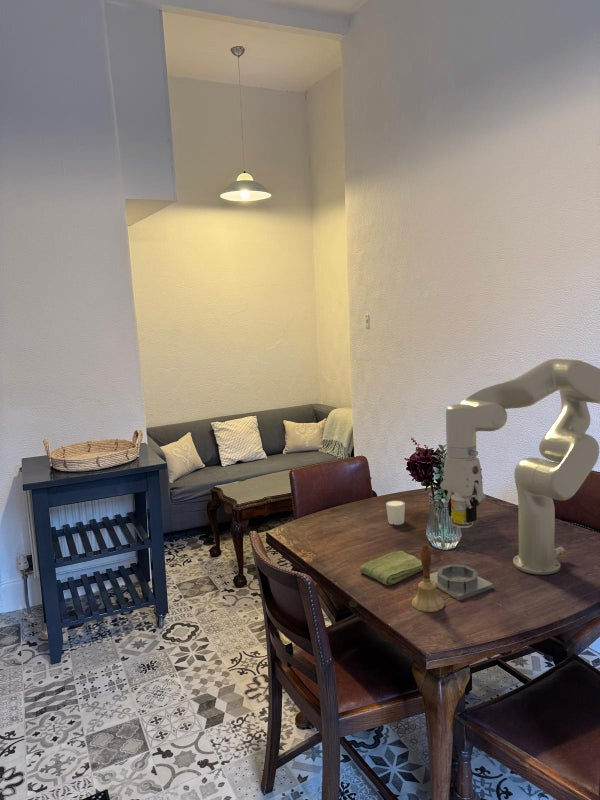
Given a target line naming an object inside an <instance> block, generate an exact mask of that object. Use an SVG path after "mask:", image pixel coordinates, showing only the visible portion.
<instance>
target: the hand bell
mask: <svg viewBox="0 0 600 800" xmlns="http://www.w3.org/2000/svg"><path fill="white" fill-rule="evenodd" d="M428 545H429V544H427V543H423V544H422V546H421V547H422V548H421V549H420V560H421V563H422V566H423V570H422V573H423V575H422V581H420V582H419V583H418V584H417V585H418V588H417V592H416V595H415V597H414V598H412V601H411V606H412V607H413V608H414V609H415V610H417V611H420V612H425V613H433V612H435V613H436V612H438V611H440V610H442V609H444V607H445V605H446V604H445V601H444V599H442V597H440V596H439V593H438V588H437V587H436V584H435V583H434V582H432V581H430V574H431V573H430V571H431V570H430V566H431V562H432V554H431V551H430V548H429V546H428Z"/></svg>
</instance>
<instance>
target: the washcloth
mask: <svg viewBox="0 0 600 800" xmlns="http://www.w3.org/2000/svg"><path fill="white" fill-rule="evenodd" d="M359 571H360V573H361V574H363V575H366V576H368V577H369V578H372V579H374V580H376V581H377V582H379V583H381V584H384V586H391V585H395V584H396V583H400V582H401V581H403V580H405V579H407V578H410V577H412V576H413V575H415V574H417V573H419V572H421V571H422V572H423V566H422V563H421V559H419V558H418V557H416V556H415V555H413V554H408V553H406V552H405V551H403V550H398V551H392V552H388V553H387V554H385V555H381V556H380V557H378V558H375V559H371V560H369V561H368V562H364V563H363V564H362V565H361V566H360V568H359Z"/></svg>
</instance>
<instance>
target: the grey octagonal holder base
mask: <svg viewBox="0 0 600 800" xmlns="http://www.w3.org/2000/svg"><path fill="white" fill-rule="evenodd" d="M430 581H432V582H434V583H435V584H436V589H437V590H440V591H442V592H444V593H445V594H447V595H448V596H451V597H452V598H454V599H456V600H457V601H462V600H464V599H467V598H469V597H472V596H475V595H478V594H481V593H483V592H487V591H489V590H492V589H494V583H492V582H490V581H489V580H487V579H484V578H482V577H480V576H479V573H478V571H477V570H476V569H474V568H473V567H470V566H468V565H465V564H447V565H443V566H440V567H439V568H438V569H437V571H435V572H432V573H430Z"/></svg>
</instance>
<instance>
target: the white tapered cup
mask: <svg viewBox="0 0 600 800" xmlns="http://www.w3.org/2000/svg"><path fill="white" fill-rule="evenodd" d="M385 507H386V513H387V514H386V515H387V520H388V521H387V522H389V524H390V525H393V524H394V525H395V526H396V525H397V526H400V525H403V524H404V523H405V510H406V509H405V507H406V502H404V501H402V500H389V501H387V502H385Z"/></svg>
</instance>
